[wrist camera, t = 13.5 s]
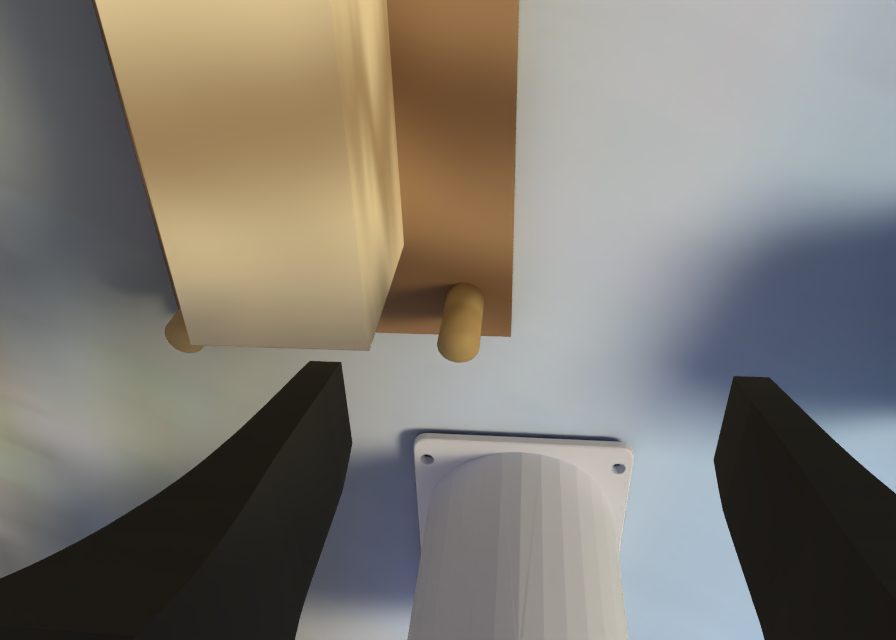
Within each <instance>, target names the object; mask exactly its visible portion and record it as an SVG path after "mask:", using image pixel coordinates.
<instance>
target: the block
mask: <svg viewBox="0 0 896 640" xmlns="http://www.w3.org/2000/svg"><path fill="white" fill-rule="evenodd" d="M95 2H96V5H97V9H98V12H99V16H100V20H101V23H102V27H103V30H104V34H105V38H106V41H107V45H108V48H109V52H110V56H111V59H112V63H113V66H114V70H115V74H116V77H117V81H118V84H119V88H120V92H121V95H122V99H123V102H124V106H125V110H126V113H127V117H128V120H129V124H130V128H131V131H132V135H133V138H134V142H135V145H136V149H137V153H138V156H139V160H140V163H141V167H142V171H143V174H144V178H145V181H146V185H147V189H148V192H149V196H150V199H151V203H152V207H153V210H154V214H155V217H156V221H157V225H158V228H159V232H160V235H161V239H162V243H163V246H164V250H165V253H166V257H167V261H168V264H169V268H170V271H171V275H172V279H173V282H174V286H175V289H176V293H177V297H178V300H179V304H180V307H181V311H182V315H183V318H184V322H185V325H186V329H187V333H188V336H189V340H190V343H191V345H208V346H238V347H268V348H299V349H329V350H359V351H369V350H370V347H371V344H372V341H373V338H374V335H375V331H376V328H377V325H378V322H379V319H380V316H381V313H382V310H383V307H384V304H385V301H386V298H387V295H388V292H389V289H390V286H391V283H392V280H393V277H394V274H395V271H396V268H397V265H398V262H399V259H400V255H401V252H402V249H403V246H404V238H403V224H402V210H401V196H400V182H399V168H398V154H397V140H396V126H395V112H394V98H393V84H392V70H391V56H390V42H389V28H388V14H387V0H95Z"/></svg>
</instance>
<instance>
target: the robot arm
mask: <svg viewBox="0 0 896 640" xmlns="http://www.w3.org/2000/svg"><path fill="white" fill-rule="evenodd" d="M351 447H352V437H351V430H350V423H349V415H348V408H347V401H346V394H345V386H344V379H343V372H342V365H341V362H321V361H310V362H309V363H307V364H306V365H305V366H304V367H303V368H302V369H301V370H300V371H299V372H298V373H297V374H296V375H295V376H294V377H293V378H292V379H291V380H290V381H289V382H288V383H287V384H286V385H285V386H284V387H283V388H282V389H281V390H280V391H279V392H278V393H277V394H276V395H275V396H274V397H273V398H272V399H271V400H270V401H269V402H268V403H267V404H266V405H265V406H264V407H263V408H262V409H261V410H260V411H258V412H257V413H256V414H255V415H254V416H253V417H252V418H251V419H250V420H249V421H248V422H247V423H246V424H245V425H244V426H243V427H242V428H241V429H239V430H238V431H237V432H236V433H235V434H234V435H233V436H232V437H230V438H229V439H228V440H227V441H226V442H225V443H223V444H222V445H221V446H220V447H219V448H218V449H216V450H215V451H214V452H213V453H212V454H211V455H209V456H208V457H207V458H206V459H205V460H203V461H202V462H201V463H200V464H198V465H197V466H196V467H194V468H193V469H192V470H191V471H189V472H188V473H187V474H185V475H184V476H182V477H181V478H180V479H178V480H177V481H175V482H174V483H173V484H171V485H170V486H168V487H167V488H166V489H164V490H163V491H161V492H160V493H158V494H157V495H155V496H154V497H153V498H151V499H149V500H148V501H146V502H144V503H143V504H141V505H140V506H138V507H136V508H135V509H133V510H132V511H130V512H128V513H127V514H125V515H124V516H122V517H120V518H119V519H117V520H115V521H114V522H112V523H111V524H109V525H107V526H106V527H104V528H102V529H100V530H98V531H97V532H95V533H93V534H91V535H89V536H88V537H86V538H84V539H82V540H80V541H78V542H77V543H75V544H73V545H71V546H69V547H67V548H65V549H63V550H61V551H59V552H57V553H55V554H53V555H51V556H49V557H47V558H45V559H43V560H41V561H39V562H37V563H35V564H32V565H30V566H28V567H26V568H23V569H21V570H19V571H17V572H14V573H12V574H10V575H8V576H5V577H3V578H1V579H0V640H295V636H296V632H297V628H298V623H299V619H300V615H301V612H302V608H303V605H304V602H305V598H306V595H307V592H308V589H309V586H310V583H311V580H312V577H313V574H314V572H315V569H316V566H317V563H318V560H319V557H320V554H321V552H322V549H323V546H324V543H325V540H326V537H327V534H328V531H329V529H330V526H331V523H332V520H333V517H334V514H335V511H336V508H337V505H338V502H339V499H340V496H341V493H342V490H343V486H344V481H345V477H346V472H347V467H348V462H349V457H350V452H351ZM413 450H414V464H415V477H416V490H417V503H418V517H419V530H420V543H421V557H420V563H419V570H418V576H417V582H416V589H415V595H414V601H413V608H412V614H411V620H410V626H409V633H408V639H407V640H629V637H628V629H627V621H626V613H625V605H624V597H623V589H622V581H621V573H620V565H619V550H620V544H621V538H622V531H623V525H624V518H625V512H626V505H627V499H628V493H629V486H630V480H631V473H632V467H633V460H634V456H633V450H632V448H631V446H630V445H628V444H627V443H624V442H615V441H592V440H570V439H548V438H526V437H504V436H482V435H460V434H437V433H423V434H420V435H418V436H417V437H416V438H415V442H414V447H413ZM425 454H428V455H431V456H432V457H426V456H424V455H425ZM614 464H623V465H621V466H613V465H614ZM714 465H715V471H716V477H717V482H718V488H719V493H720V498H721V503H722V508H723V512H724V515H725V519H726V522H727V525H728V528H729V531H730V534H731V537H732V540H733V543H734V546H735V550H736V553H737V556H738V559H739V562H740V565H741V568H742V571H743V574H744V576H745V579H746V582H747V585H748V588H749V591H750V594H751V597H752V601H753V604H754V606H755V610H756V613H757V616H758V619H759V622H760V625H761V628H762V632H763V635H764V639H765V640H896V494H895V493H894V492H893V491H892V490H891V489H889V488H888V487H887V486H886V485H885V484H883V483H882V482H881V481H880V480H879V479H877V478H876V477H875V476H874V475H873V474H871V473H870V472H869V471H868V470H867V469H866V468H864V467H863V466H862V465H861V464H860V463H859V462H858V461H856V460H855V459H854V458H853V457H852V456H851V455H850V454H849V453H848V452H846V451H845V450H844V449H843V448H842V447H841V446H840V445H839V444H838V443H837V442H836V441H835V440H833V439H832V438H831V437H830V436H829V435H828V434H827V433H826V432H825V431H824V430H823V429H822V428H821V427H820V426H819V425H818V424H817V423H816V422H815V421H814V420H813V419H811V418H810V417H809V416H808V415H807V414H806V413H805V412H804V411H803V410H802V409H801V408H800V407H799V406H798V405H797V404H796V403H795V402H794V401H793V400H792V399H791V398H790V397H789V396H788V395H787V394H786V393H785V392H784V391H783V390H782V389H781V388H780V387H779V386H778V385H777V384H776V383H774V382H773V381H772V380H771V379H770V378H769V377H741V376H734V377H733V381H732V385H731V389H730V394H729V398H728V402H727V406H726V410H725V414H724V419H723V423H722V427H721V431H720V435H719V440H718V444H717V448H716V452H715V456H714Z"/></svg>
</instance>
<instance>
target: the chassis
mask: <svg viewBox="0 0 896 640" xmlns="http://www.w3.org/2000/svg"><path fill="white" fill-rule="evenodd" d="M92 1H93V5H94V9H95V12H96V16H97V19H98V23H99V27H100V30H101V34H102V37H103V41H104V44H105V48H106V52H107V55H108V59H109V62H110V66H111V70H112V73H113V77H114V80H115V84H116V87H117V91H118V95H119V98H120V102H121V105H122V109H123V113H124V116H125V120H126V123H127V127H128V130H129V134H130V138H131V141H132V145H133V148H134V152H135V155H136V159H137V163H138V166H139V170H140V173H141V177H142V181H143V184H144V188H145V191H146V195H147V198H148V202H149V206H150V209H151V213H152V216H153V220H154V224H155V227H156V231H157V234H158V238H159V241H160V245H161V249H162V252H163V256H164V259H165V263H166V267H167V270H168V274H169V277H170V281H171V284H172V288H173V292H174V295H175V299H176V302H177V306H178V309H179V310H178V311H177V313H176V314H175V315H174V317H173V318H172V319H171V320H170V322H169V323H168V324H167V326H166V328H165V336H166V338H167V340H168V342H169V343H170V344H171V345H172V346H173V347H174V348H176V349H177V350H179V351H182V352H185V353H195V352H198V351H200V350H201V349H202V348H203V347H204V345H191V343H190V340H189V336H188V333H187V329H186V325H185V322H184V318H183V315H182V311H181V307H180V304H179V300H178V297H177V293H176V289H175V286H174V282H173V279H172V275H171V271H170V268H169V264H168V261H167V257H166V253H165V250H164V246H163V243H162V239H161V235H160V232H159V228H158V225H157V221H156V217H155V214H154V210H153V207H152V203H151V199H150V196H149V192H148V189H147V185H146V181H145V178H144V174H143V171H142V167H141V163H140V160H139V156H138V153H137V149H136V145H135V142H134V138H133V135H132V131H131V128H130V124H129V120H128V117H127V113H126V110H125V106H124V102H123V99H122V95H121V92H120V88H119V84H118V81H117V77H116V74H115V70H114V66H113V63H112V59H111V56H110V52H109V48H108V45H107V41H106V38H105V34H104V30H103V27H102V23H101V20H100V16H99V12H98V9H97V5H96V2H95V0H92ZM387 14H388V28H389V42H390V56H391V70H392V84H393V98H394V112H395V126H396V140H397V154H398V168H399V182H400V196H401V210H402V224H403V238H404V246H403V249H402V252H401V255H400V259H399V262H398V265H397V268H396V271H395V274H394V277H393V280H392V283H391V286H390V289H389V292H388V295H387V298H386V301H385V304H384V307H383V310H382V313H381V316H380V319H379V322H378V325H377V328H376V331H375V332H377V333H409V334H439V337H438V342H437V347H438V350H439V352H440V353H441V355H442V356H443V357H445V358H446V359H448V360H450V361H453V362H467V361H469V360H471V359H473V358H474V357H475V356H476V355H477V353H478V351H479V346H480V336H505V337H511V316H512V273H513V230H514V187H515V144H516V102H517V59H518V16H519V0H387Z"/></svg>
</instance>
